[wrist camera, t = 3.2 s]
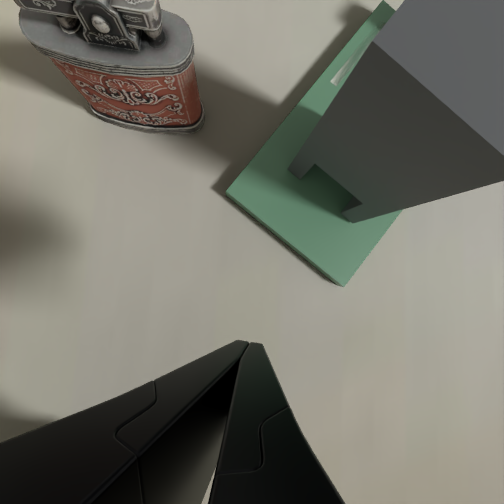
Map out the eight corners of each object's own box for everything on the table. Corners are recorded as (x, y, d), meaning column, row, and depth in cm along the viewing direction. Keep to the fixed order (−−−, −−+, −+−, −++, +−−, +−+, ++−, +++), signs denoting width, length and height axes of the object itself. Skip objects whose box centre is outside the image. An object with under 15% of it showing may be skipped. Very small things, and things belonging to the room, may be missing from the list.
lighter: (207, 96, 21) (189, -46, 11) (202, 140, 21) (179, 36, 11) (96, 79, 21) (-25, -86, 11) (91, 124, 21) (-37, -1, 11)
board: (337, 285, 22) (344, 286, 21) (226, 195, 21) (225, 191, 20) (476, 103, 23) (489, 94, 22) (374, 13, 23) (383, -1, 22)
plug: (352, 223, 21) (525, 174, 9) (287, 169, 20) (372, 40, 8) (392, 171, 21) (611, 55, 9) (329, 117, 21) (467, -77, 9)
